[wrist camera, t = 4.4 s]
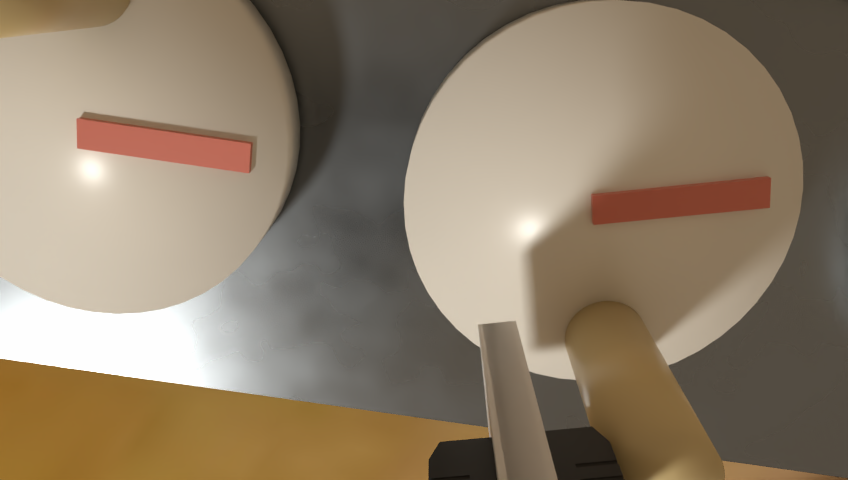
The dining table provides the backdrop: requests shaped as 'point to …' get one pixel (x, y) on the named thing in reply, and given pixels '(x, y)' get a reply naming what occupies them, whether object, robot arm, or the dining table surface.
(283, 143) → the knob
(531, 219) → the knob middle
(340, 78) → the base plate
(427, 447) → the dining table surface
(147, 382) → the dining table surface
